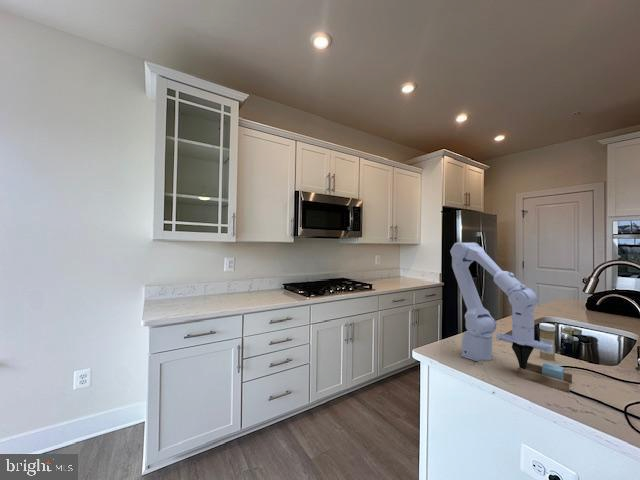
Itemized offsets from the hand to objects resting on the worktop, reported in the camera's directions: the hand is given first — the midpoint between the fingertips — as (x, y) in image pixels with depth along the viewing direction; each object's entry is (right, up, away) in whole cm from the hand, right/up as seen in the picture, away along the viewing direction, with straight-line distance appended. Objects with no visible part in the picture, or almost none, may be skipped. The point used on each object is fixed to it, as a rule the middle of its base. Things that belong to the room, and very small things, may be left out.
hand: (522, 367), depth 88 cm
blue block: (+5, -2, -5) cm, 8 cm away
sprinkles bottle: (+18, -3, +12) cm, 21 cm away
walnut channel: (+4, -3, -4) cm, 6 cm away
